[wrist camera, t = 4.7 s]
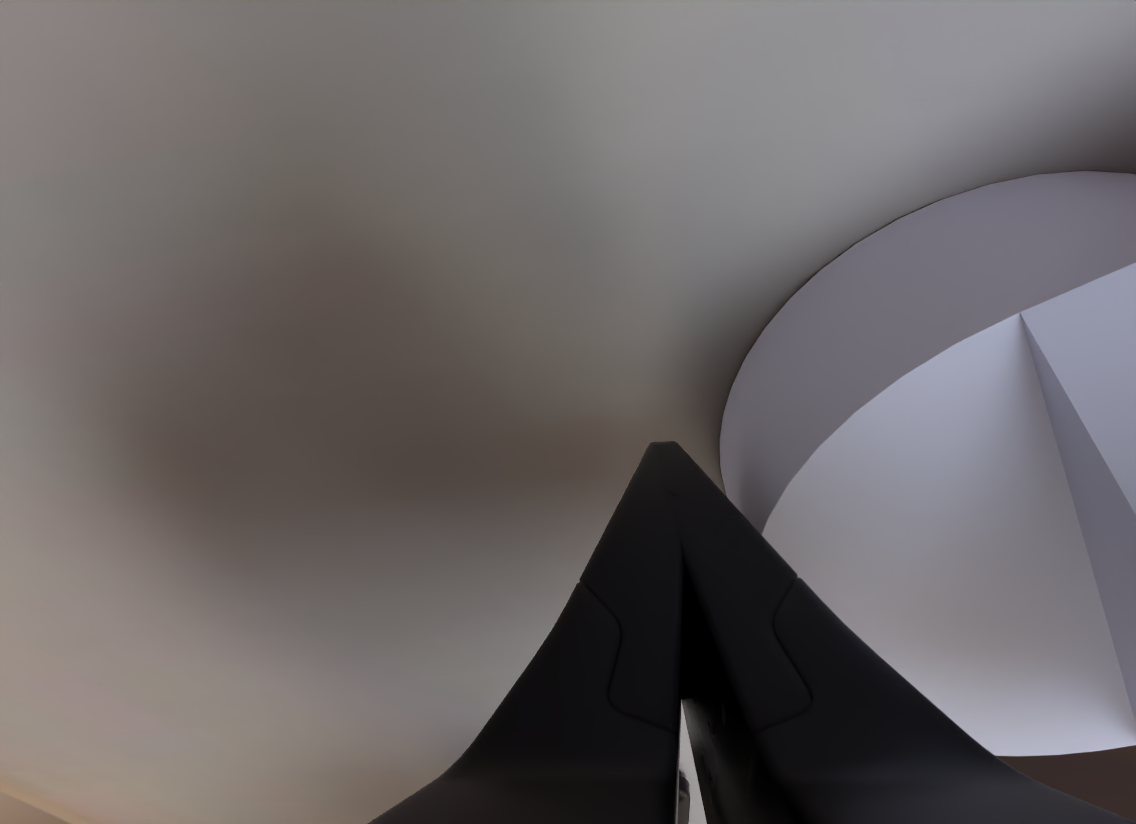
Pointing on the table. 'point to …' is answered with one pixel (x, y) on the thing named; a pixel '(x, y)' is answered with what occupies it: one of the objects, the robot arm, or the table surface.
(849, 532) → the wedge on round base
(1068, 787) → the bay
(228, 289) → the table surface
